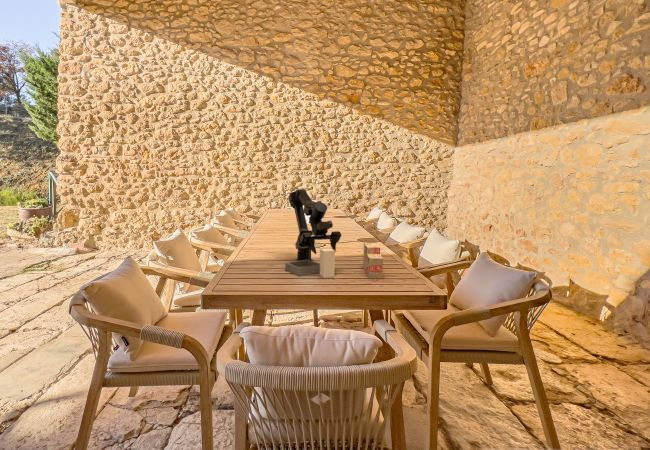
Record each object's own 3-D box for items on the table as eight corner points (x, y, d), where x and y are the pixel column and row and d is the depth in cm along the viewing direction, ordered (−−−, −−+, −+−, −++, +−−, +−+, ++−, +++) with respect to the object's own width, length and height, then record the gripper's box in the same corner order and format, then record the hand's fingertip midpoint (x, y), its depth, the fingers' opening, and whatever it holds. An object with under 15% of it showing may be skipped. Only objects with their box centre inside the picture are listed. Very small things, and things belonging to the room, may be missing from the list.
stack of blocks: (382, 278, 165) (383, 251, 163) (368, 278, 165) (369, 251, 163) (375, 266, 186) (376, 242, 184) (363, 266, 186) (363, 242, 184)
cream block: (319, 275, 169) (320, 248, 167) (329, 274, 171) (330, 248, 169) (323, 278, 164) (324, 251, 163) (334, 276, 166) (334, 250, 165)
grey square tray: (307, 266, 184) (307, 259, 183) (322, 272, 174) (322, 264, 173) (285, 270, 176) (285, 262, 176) (300, 276, 166) (300, 268, 166)
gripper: (302, 215, 167) (310, 243, 159) (340, 214, 174) (350, 241, 166) (296, 230, 176) (304, 258, 167) (333, 228, 183) (342, 255, 174)
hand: (325, 252), depth 168 cm, fingers open, 9 cm apart
